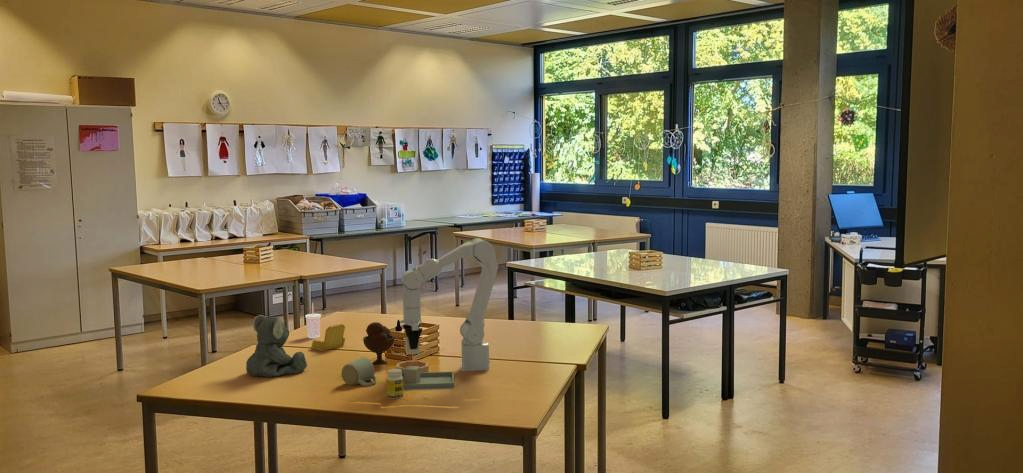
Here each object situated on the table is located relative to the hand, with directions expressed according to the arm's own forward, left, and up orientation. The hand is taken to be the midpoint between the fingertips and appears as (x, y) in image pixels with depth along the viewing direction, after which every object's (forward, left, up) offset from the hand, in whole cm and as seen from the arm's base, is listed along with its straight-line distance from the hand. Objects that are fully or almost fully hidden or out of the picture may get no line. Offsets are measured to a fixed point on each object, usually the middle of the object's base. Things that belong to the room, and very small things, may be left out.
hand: (412, 347), depth 259 cm
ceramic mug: (+16, +10, -9) cm, 21 cm away
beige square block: (0, +13, -8) cm, 15 cm away
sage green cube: (0, 0, -2) cm, 2 cm away
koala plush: (+47, -7, -9) cm, 49 cm away
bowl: (0, 0, -9) cm, 9 cm away
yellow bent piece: (+34, -40, -9) cm, 53 cm away
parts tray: (-5, +12, -9) cm, 15 cm away
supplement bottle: (+4, +26, -9) cm, 28 cm away
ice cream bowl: (+12, -13, -9) cm, 20 cm away
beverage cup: (+42, -58, -9) cm, 73 cm away
